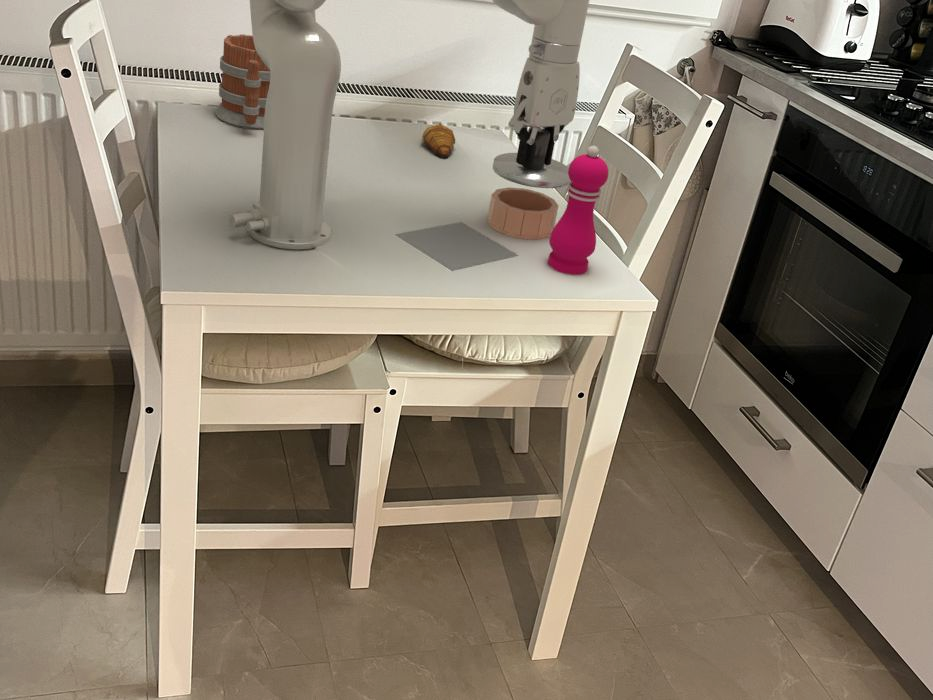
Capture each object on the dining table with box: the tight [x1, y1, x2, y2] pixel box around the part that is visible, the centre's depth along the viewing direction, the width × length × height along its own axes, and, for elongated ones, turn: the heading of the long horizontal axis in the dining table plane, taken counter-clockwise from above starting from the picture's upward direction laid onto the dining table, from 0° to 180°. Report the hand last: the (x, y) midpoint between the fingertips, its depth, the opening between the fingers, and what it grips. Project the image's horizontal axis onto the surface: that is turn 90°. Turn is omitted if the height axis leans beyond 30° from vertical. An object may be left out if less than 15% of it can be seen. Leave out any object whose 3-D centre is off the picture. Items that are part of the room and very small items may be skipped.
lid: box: [492, 127, 571, 189], centre depth 163 cm, size 13×13×7 cm
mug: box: [215, 34, 271, 130], centre depth 192 cm, size 14×19×15 cm
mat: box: [395, 221, 519, 272], centre depth 158 cm, size 14×14×1 cm
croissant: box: [421, 123, 456, 158], centre depth 199 cm, size 14×7×5 cm, turn 14°
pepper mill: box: [547, 145, 609, 276], centre depth 153 cm, size 7×7×20 cm
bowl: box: [487, 187, 559, 241], centre depth 168 cm, size 11×11×5 cm
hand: (533, 162), depth 164 cm, fingers closed on lid, 3 cm apart
